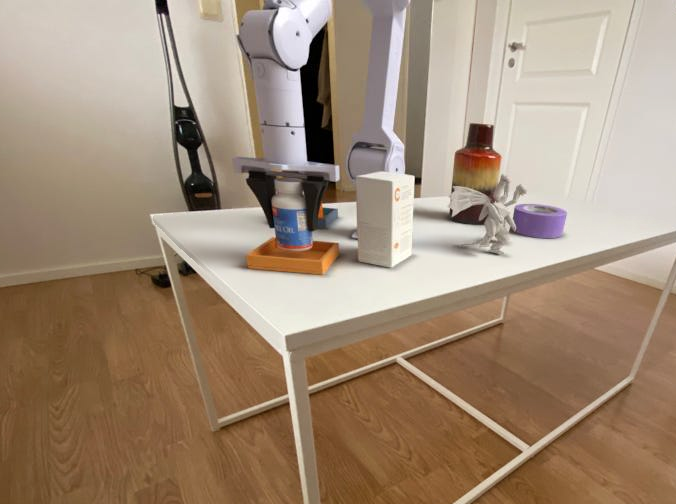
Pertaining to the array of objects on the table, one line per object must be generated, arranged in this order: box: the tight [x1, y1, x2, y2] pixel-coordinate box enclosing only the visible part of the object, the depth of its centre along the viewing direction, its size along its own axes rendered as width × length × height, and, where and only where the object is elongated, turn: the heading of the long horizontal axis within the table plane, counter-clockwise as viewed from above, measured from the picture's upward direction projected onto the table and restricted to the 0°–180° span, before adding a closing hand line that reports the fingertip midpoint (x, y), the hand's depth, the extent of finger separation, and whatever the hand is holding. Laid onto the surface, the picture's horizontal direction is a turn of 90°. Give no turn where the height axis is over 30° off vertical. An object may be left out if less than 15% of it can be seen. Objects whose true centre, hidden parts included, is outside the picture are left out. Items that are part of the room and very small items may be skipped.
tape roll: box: [510, 203, 568, 239], centre depth 92 cm, size 12×12×5 cm
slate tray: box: [317, 206, 339, 230], centre depth 86 cm, size 11×10×2 cm
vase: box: [448, 122, 503, 226], centre depth 94 cm, size 11×11×20 cm
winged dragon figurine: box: [446, 173, 528, 255], centre depth 75 cm, size 10×18×14 cm, turn 125°
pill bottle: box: [271, 177, 314, 252], centre depth 60 cm, size 6×5×10 cm
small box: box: [355, 171, 416, 269], centre depth 65 cm, size 8×6×13 cm
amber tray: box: [245, 236, 340, 276], centre depth 63 cm, size 11×10×2 cm
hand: (293, 228), depth 61 cm, fingers closed on pill bottle, 5 cm apart
